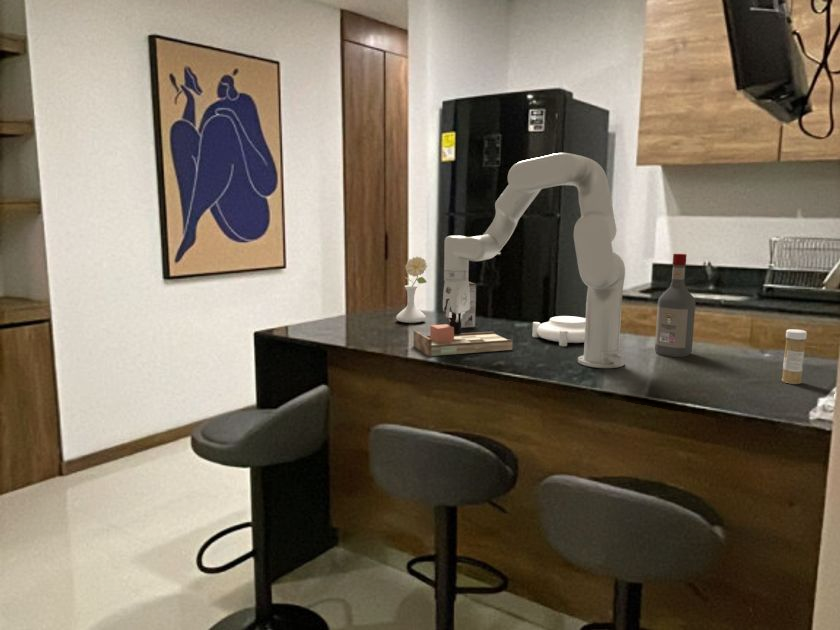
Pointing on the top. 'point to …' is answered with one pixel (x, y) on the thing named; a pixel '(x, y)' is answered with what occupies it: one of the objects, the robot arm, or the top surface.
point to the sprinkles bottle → (794, 356)
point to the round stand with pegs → (561, 329)
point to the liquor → (675, 315)
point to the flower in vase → (413, 292)
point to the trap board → (462, 344)
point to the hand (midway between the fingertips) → (455, 333)
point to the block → (442, 333)
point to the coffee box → (469, 315)
